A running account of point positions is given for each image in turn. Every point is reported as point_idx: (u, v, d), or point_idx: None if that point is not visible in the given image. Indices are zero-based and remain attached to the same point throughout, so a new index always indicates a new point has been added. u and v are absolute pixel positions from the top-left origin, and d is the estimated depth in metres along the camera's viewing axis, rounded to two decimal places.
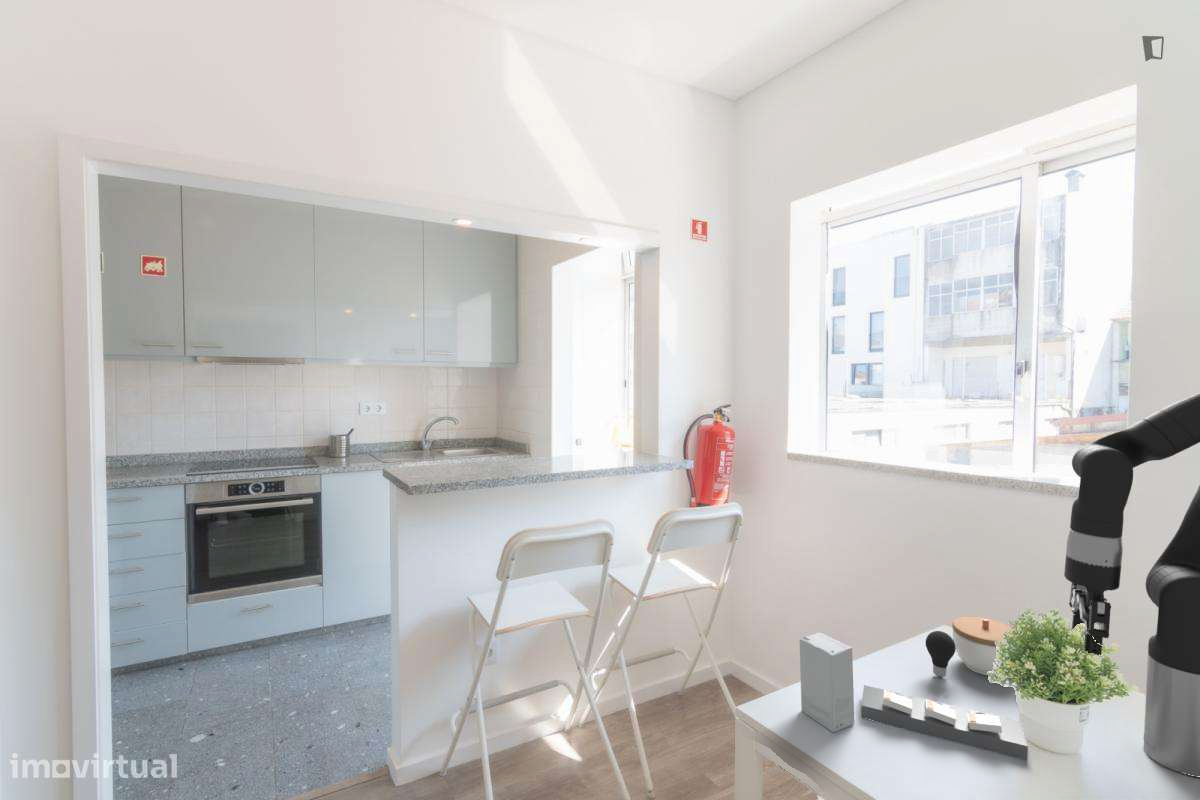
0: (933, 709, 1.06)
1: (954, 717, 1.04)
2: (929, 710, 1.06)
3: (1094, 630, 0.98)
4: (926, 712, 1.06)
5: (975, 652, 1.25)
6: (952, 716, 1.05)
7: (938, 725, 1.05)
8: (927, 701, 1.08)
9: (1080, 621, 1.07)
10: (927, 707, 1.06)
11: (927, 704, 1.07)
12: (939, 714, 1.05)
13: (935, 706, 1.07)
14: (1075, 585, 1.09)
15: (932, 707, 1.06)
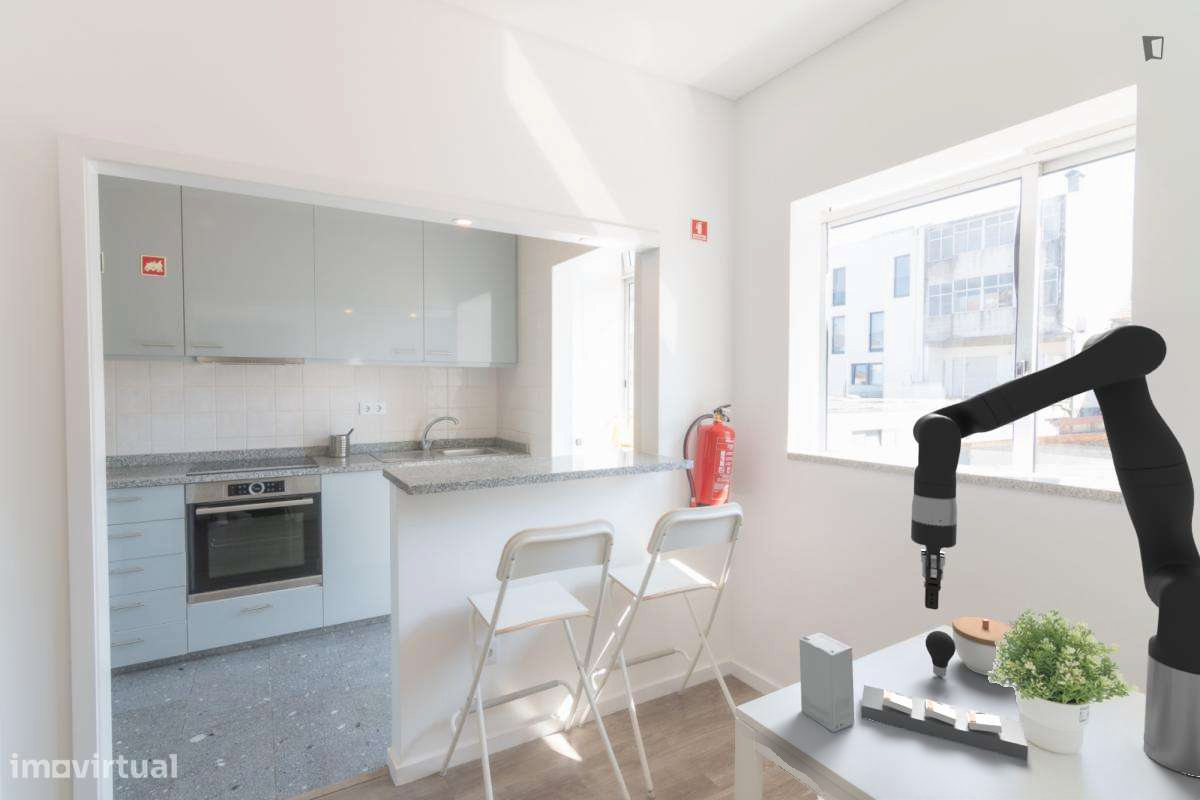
0: (933, 709, 1.06)
1: (954, 717, 1.04)
2: (929, 710, 1.06)
3: (928, 584, 1.09)
4: (926, 712, 1.06)
5: (975, 652, 1.25)
6: (952, 716, 1.05)
7: (938, 725, 1.05)
8: (927, 701, 1.08)
9: None
10: (927, 707, 1.06)
11: (927, 704, 1.07)
12: (939, 714, 1.05)
13: (935, 706, 1.07)
14: None
15: (932, 707, 1.06)
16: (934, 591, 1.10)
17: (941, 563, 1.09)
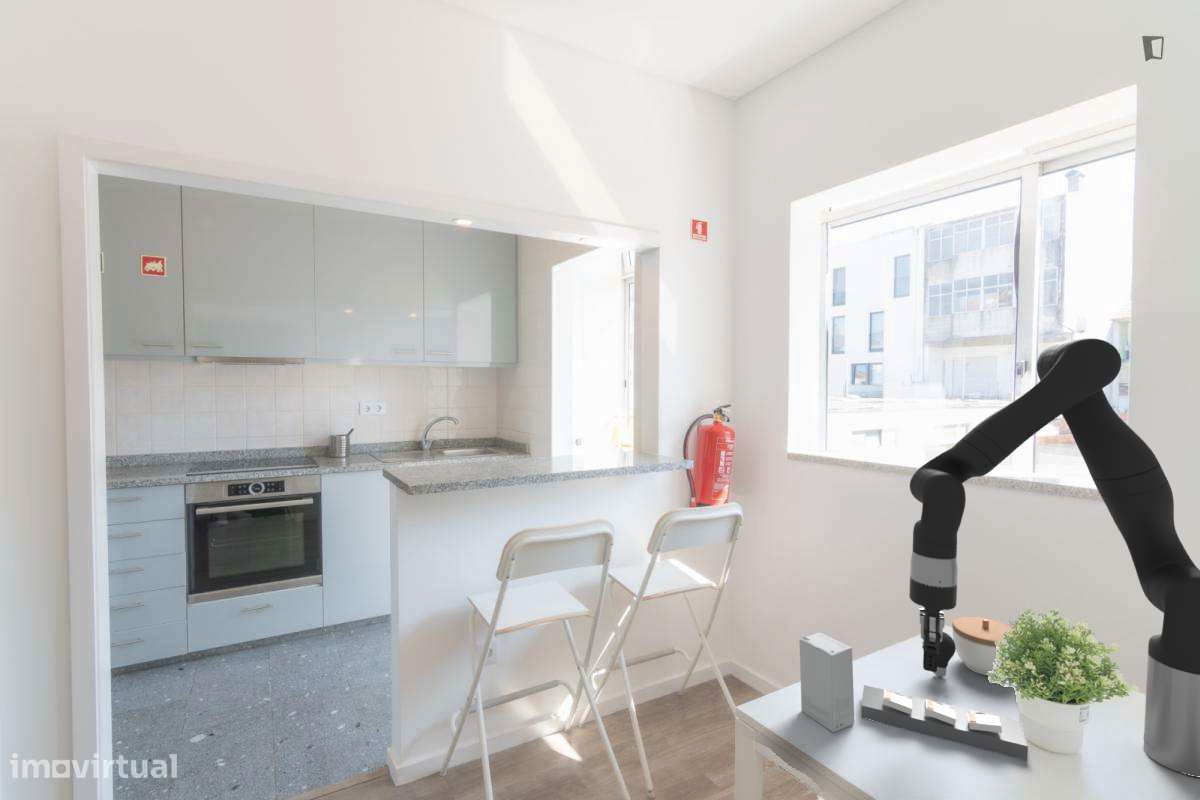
0: (933, 709, 1.06)
1: (954, 717, 1.04)
2: (929, 710, 1.06)
3: (927, 646, 1.04)
4: (926, 712, 1.06)
5: (975, 652, 1.25)
6: (952, 716, 1.05)
7: (938, 725, 1.05)
8: (927, 701, 1.08)
9: None
10: (927, 707, 1.06)
11: (927, 704, 1.07)
12: (939, 714, 1.05)
13: (935, 706, 1.07)
14: None
15: (932, 707, 1.06)
16: (933, 653, 1.05)
17: (940, 625, 1.04)
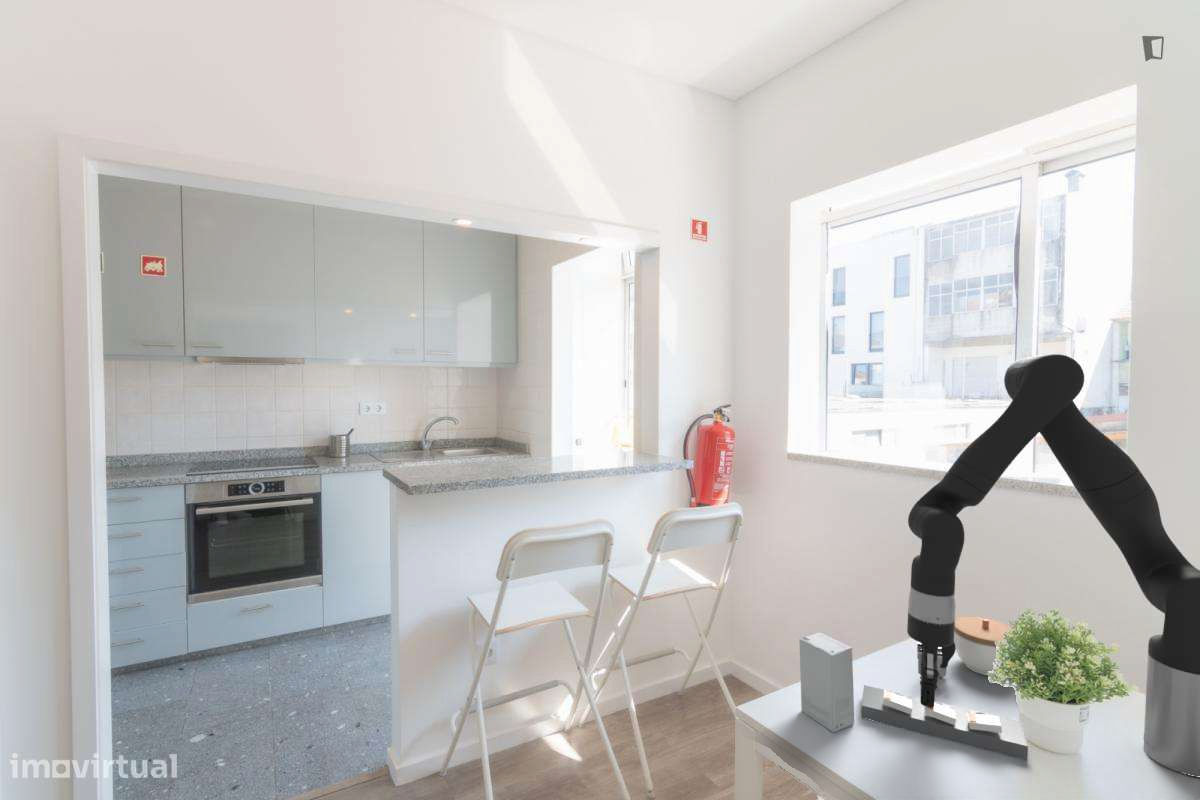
0: (933, 709, 1.06)
1: (954, 717, 1.04)
2: (929, 710, 1.06)
3: (924, 682, 1.05)
4: (926, 712, 1.06)
5: (975, 652, 1.25)
6: (952, 716, 1.05)
7: (938, 725, 1.05)
8: None
9: None
10: (927, 707, 1.06)
11: None
12: (939, 714, 1.05)
13: (935, 706, 1.07)
14: None
15: (932, 707, 1.06)
16: (930, 689, 1.06)
17: (938, 661, 1.05)
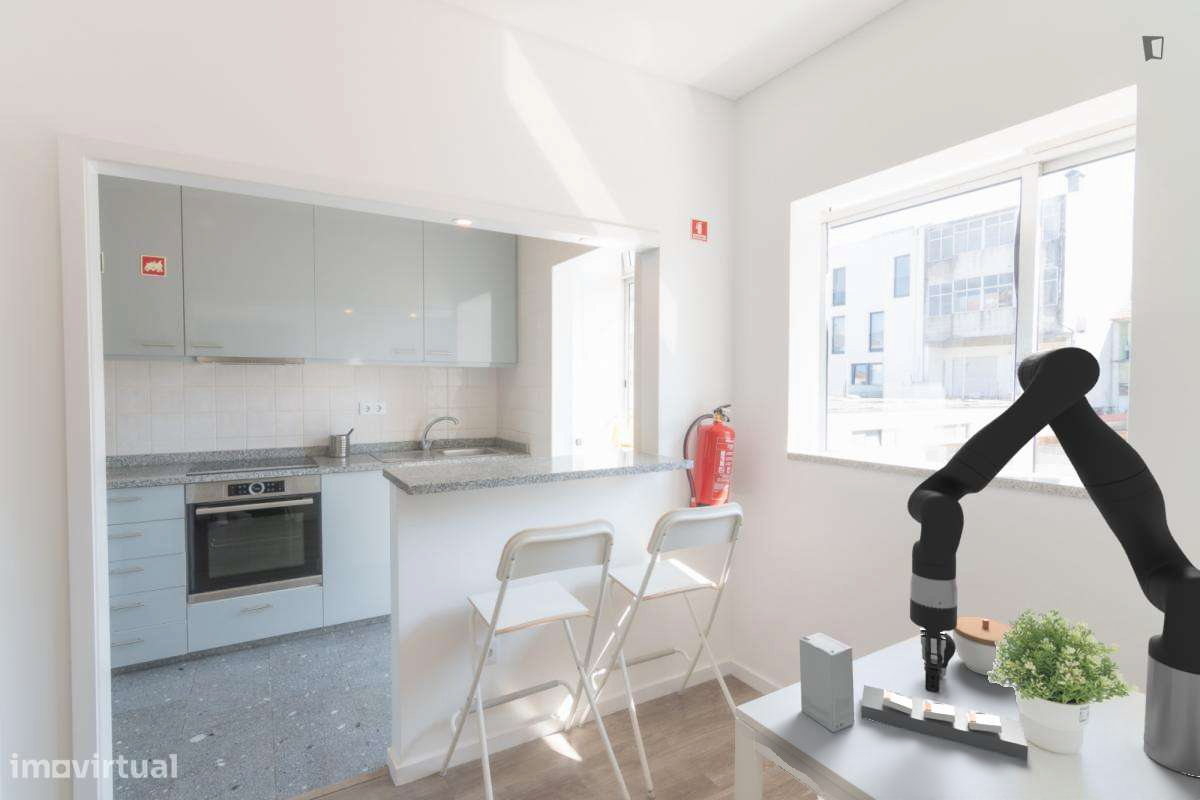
0: (931, 710, 1.06)
1: (952, 714, 1.05)
2: (927, 712, 1.06)
3: (929, 668, 1.04)
4: (925, 715, 1.06)
5: (975, 652, 1.25)
6: (950, 713, 1.05)
7: (938, 725, 1.05)
8: (925, 703, 1.08)
9: None
10: (925, 709, 1.06)
11: (925, 707, 1.07)
12: (937, 714, 1.05)
13: (933, 707, 1.07)
14: None
15: (930, 708, 1.07)
16: (935, 674, 1.05)
17: (941, 646, 1.04)
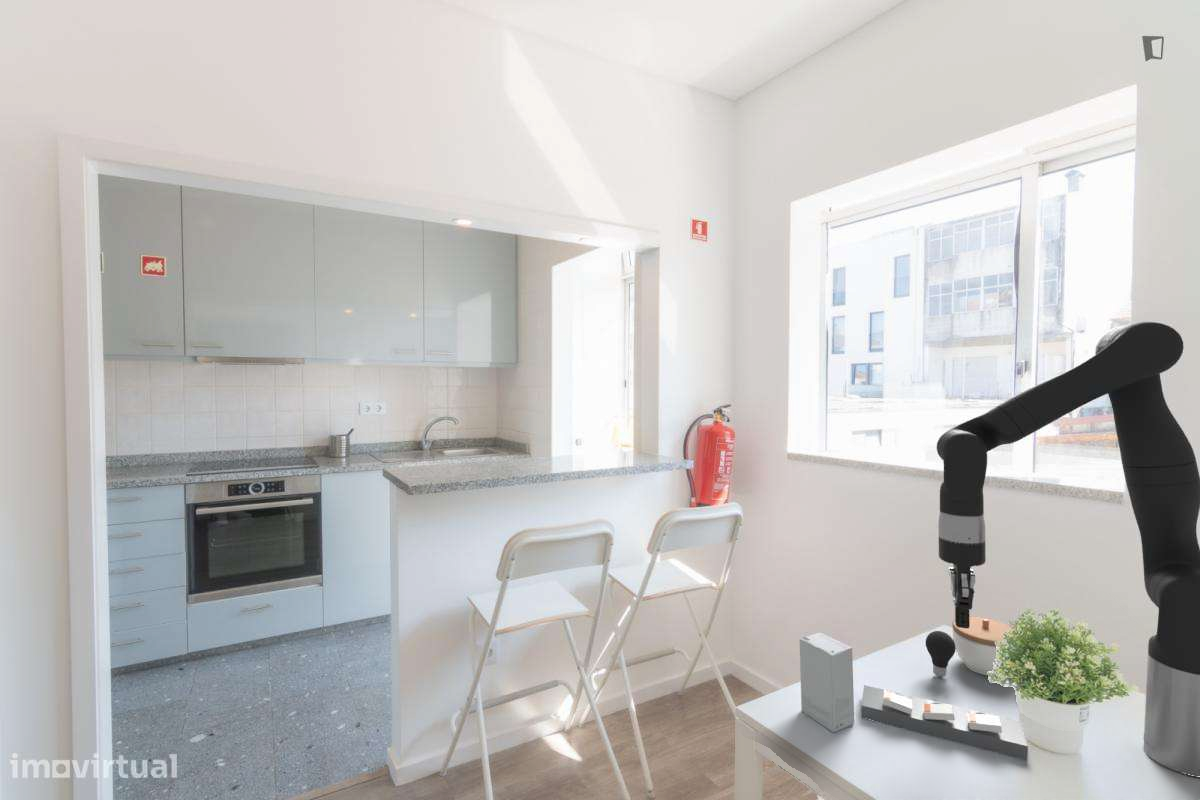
0: (930, 711, 1.06)
1: (951, 712, 1.05)
2: (927, 713, 1.06)
3: (959, 603, 1.07)
4: (925, 716, 1.06)
5: (975, 652, 1.25)
6: (949, 712, 1.05)
7: (938, 725, 1.05)
8: (924, 705, 1.08)
9: None
10: (924, 711, 1.07)
11: (924, 708, 1.08)
12: (937, 714, 1.05)
13: (932, 707, 1.07)
14: None
15: (929, 709, 1.07)
16: (965, 610, 1.08)
17: (971, 581, 1.07)
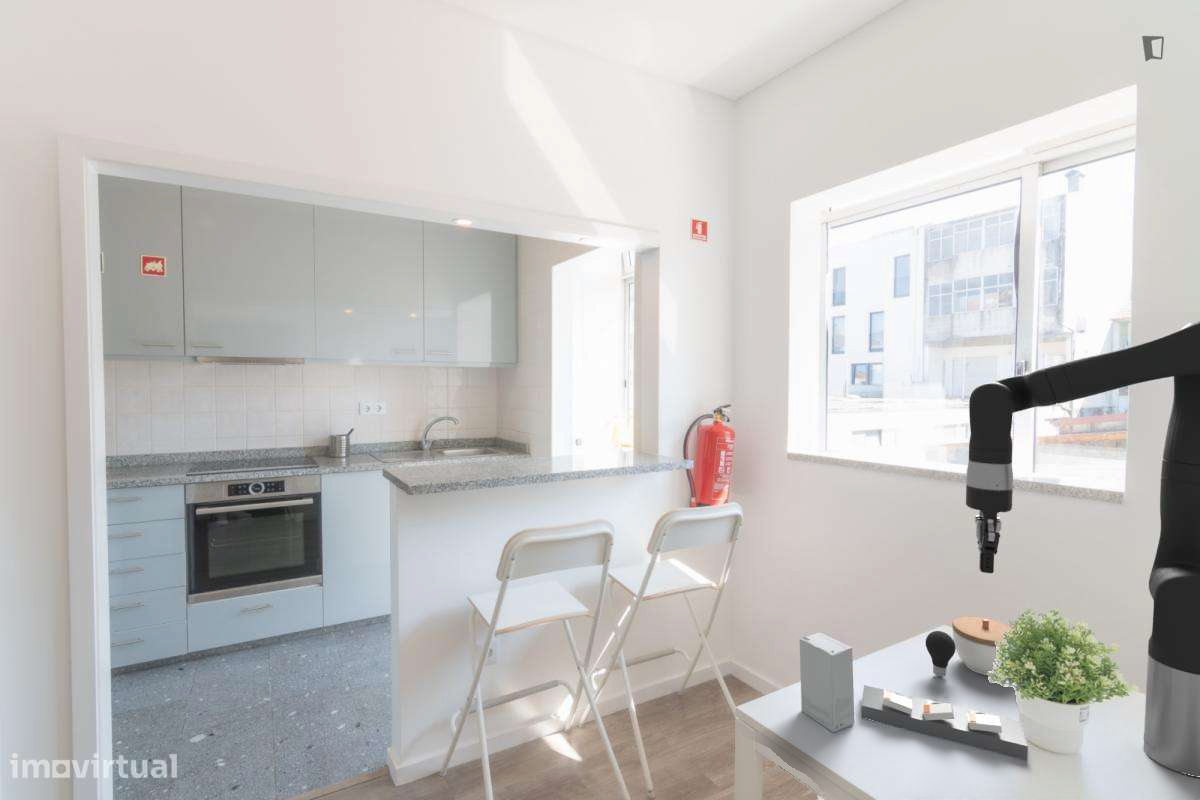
0: (929, 712, 1.06)
1: (950, 711, 1.05)
2: (926, 714, 1.06)
3: (985, 548, 1.11)
4: (925, 718, 1.06)
5: (975, 652, 1.25)
6: (948, 710, 1.05)
7: (938, 725, 1.05)
8: (924, 706, 1.08)
9: None
10: (924, 712, 1.07)
11: (924, 709, 1.08)
12: (936, 714, 1.05)
13: (932, 707, 1.07)
14: None
15: (928, 710, 1.07)
16: (990, 555, 1.12)
17: (997, 527, 1.11)
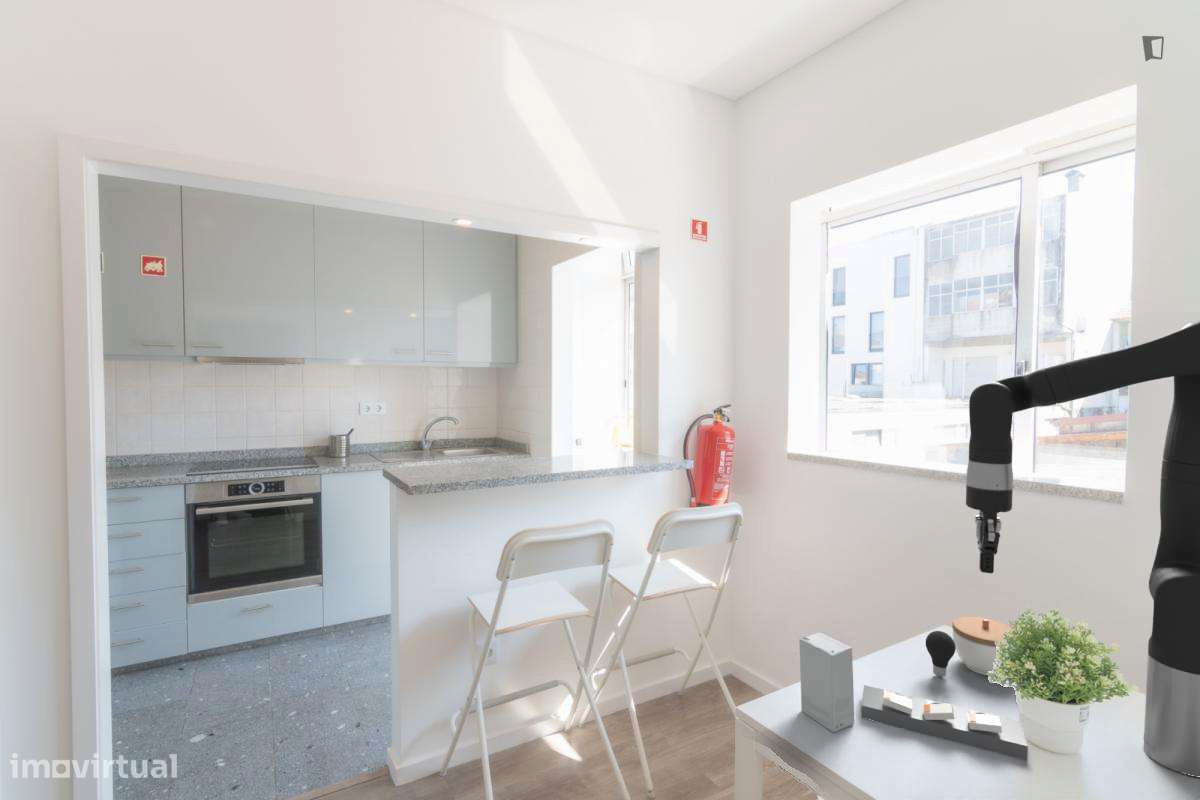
0: (930, 711, 1.06)
1: (950, 711, 1.05)
2: (926, 714, 1.06)
3: (985, 548, 1.11)
4: (925, 717, 1.06)
5: (975, 652, 1.25)
6: (948, 711, 1.05)
7: (938, 725, 1.05)
8: (924, 706, 1.08)
9: None
10: (924, 712, 1.07)
11: (924, 709, 1.08)
12: (936, 714, 1.05)
13: (932, 707, 1.07)
14: None
15: (928, 710, 1.07)
16: (990, 555, 1.12)
17: (997, 527, 1.11)
